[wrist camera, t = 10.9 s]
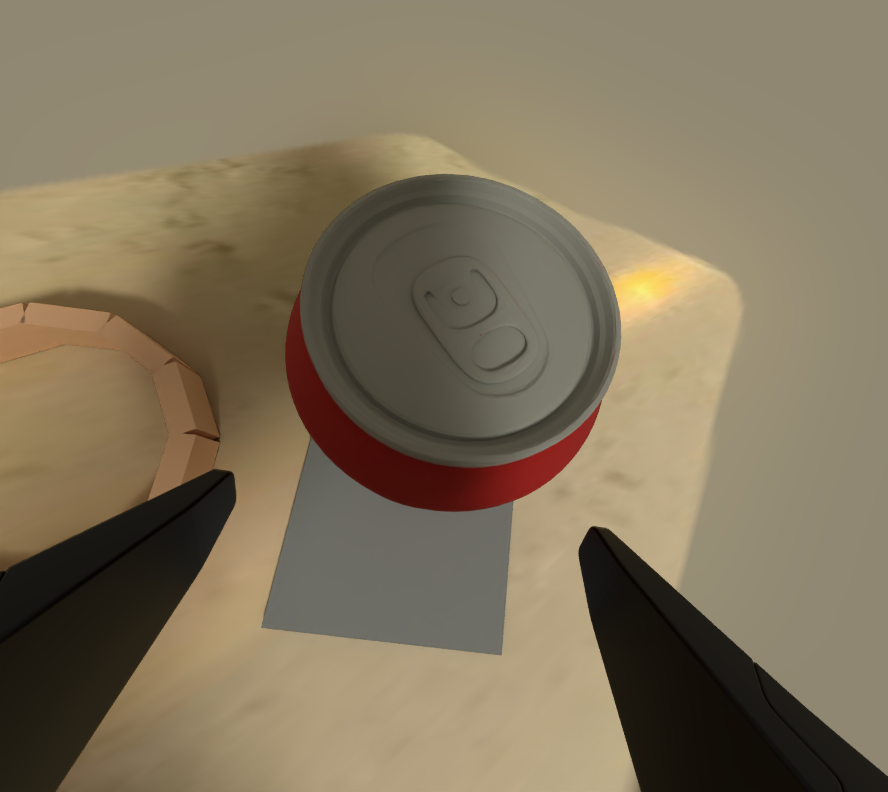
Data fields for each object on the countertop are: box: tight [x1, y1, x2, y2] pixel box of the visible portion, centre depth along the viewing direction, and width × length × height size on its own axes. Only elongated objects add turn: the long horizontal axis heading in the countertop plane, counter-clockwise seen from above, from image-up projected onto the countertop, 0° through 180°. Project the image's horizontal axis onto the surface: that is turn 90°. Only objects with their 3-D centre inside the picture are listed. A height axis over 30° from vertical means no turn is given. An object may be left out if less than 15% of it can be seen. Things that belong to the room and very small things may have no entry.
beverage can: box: [285, 174, 621, 512], centre depth 11 cm, size 7×7×12 cm
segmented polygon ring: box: [0, 302, 220, 500], centre depth 14 cm, size 13×13×2 cm
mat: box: [261, 437, 513, 655], centre depth 17 cm, size 18×10×1 cm, turn 172°
